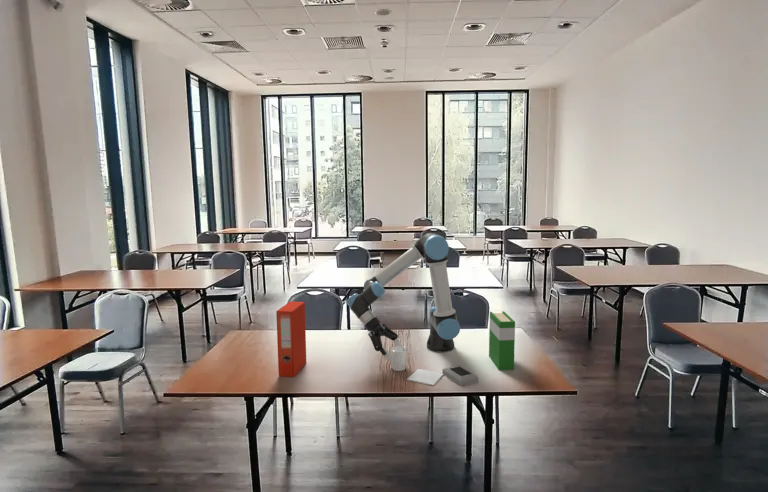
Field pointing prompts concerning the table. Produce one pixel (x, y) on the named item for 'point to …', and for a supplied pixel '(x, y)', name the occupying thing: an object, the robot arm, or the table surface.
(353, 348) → the table surface
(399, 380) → the table surface
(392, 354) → the white cup
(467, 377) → the grey box
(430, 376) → the mat
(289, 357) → the file binder
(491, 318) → the hardback book
